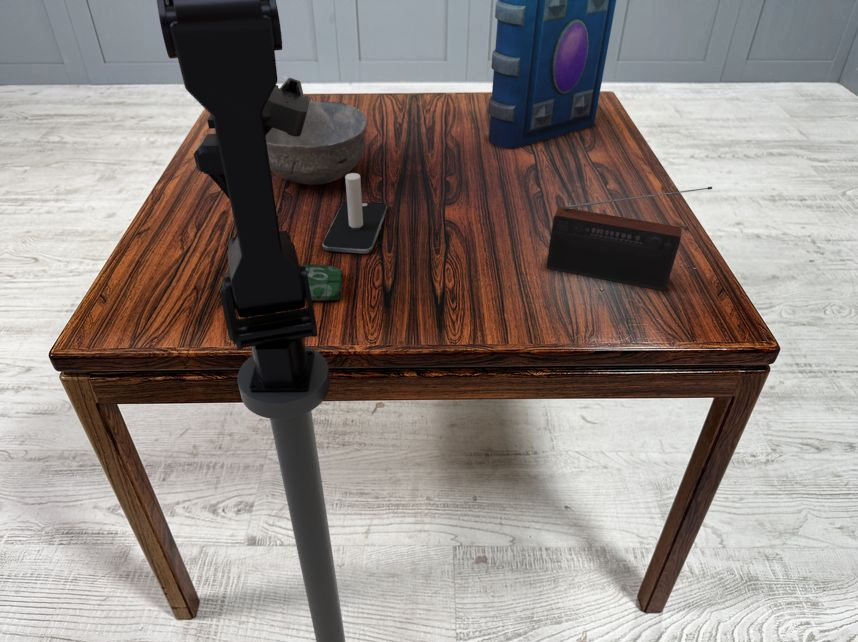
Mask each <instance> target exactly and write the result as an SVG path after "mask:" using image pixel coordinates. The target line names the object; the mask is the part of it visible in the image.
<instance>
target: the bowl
mask: <svg viewBox="0 0 858 642" xmlns="http://www.w3.org/2000/svg"><path fill="white" fill-rule="evenodd" d="M308 100H309V101H310V103H309V107H308V111H307V115H306V119H305V123H304V126H303V129H302V132H301V135H300V136H298V137H295V136H291V135H288V134H287V133H286V132H284V131H281V130H278V129H275V128H272V129H271V130H270V131H269V132H268V133H267V135H266V143H267V150H268V157H269V163H270V170H271V173H274V174H275V175H276V176H277V177H279V178H281V179H283V180H286V181H289V182H293V183H296V184H300V185H301V184H302V185H306V186H318V185H325V184H326V185H327V184H329V183H333V182H335V181H338V180H340V179H342V178H343V177H345V176H346V175H347V174H350V172H351V171H353V169H354V168H355V167H356V166H357V164H358V163H359V162H360V160H361V159H362V157H363V155H364V153H365V150H366V143H365V138H366V137H365V136H366V133H367V127H368V121H367V118H366V116H365V113H364V112H362V111H361V109H359V108H358V107H356V106H353V105H350V104H347V103H344V102H341V101H338V102H336V101H320V102H319V101H314V100H311V99H308Z"/></svg>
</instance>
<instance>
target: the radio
mask: <svg viewBox="0 0 858 642" xmlns="http://www.w3.org/2000/svg"><path fill="white" fill-rule="evenodd" d="M704 190H708V191H710V190H713V186H707V187H702V188H695V189H688V190H680V191H673V192H665V193H656V194H649V195H642V196H634V197H627V198H626V197H625V198H618V199H609V200H602V201H593V202H585V203H579V204H571V205H566V206H559V207H558V208H557V209H556V211H555V214H554V216H553V219H552V226H551V232H550V239H549V244H548V250H547V259H546V265H545V267H546V268H547V269H548V270H552V271H557V272H558V271H559V272H562V273H568V274H573V275H577V276H583V277H589V278H593V279H597V280H598V279H599V280H604V281H609V282H613V283H614V282H615V283H619V284H624V285H629V286H636V287H641V288H645V289H650V290H655V291H661V292H664V291H666V289H667V287H668V283H669V281H670V278H671V277H670V276H671V273H672V270H673V267H674V265H675V264H674V263H675V260H676V256H677V254H678V250H679V248H680V247H679V246H680V244H681V239H682V231H683V228H682V227H681V226H677V225H673V224H672V225H671V224H665V223H658V222H653V221H647V220H642V219H635V218H629V217H624V216H618V215H611V214H605V213H599V212H593V211H588V210H581V209H575V208H579V207H586V206H594V205H600V204H609V203H615V202H623V201H629V200H637V199H644V198H652V197H653V198H654V197H660V196H665V195H672V194H681V193H687V192H696V191H704Z"/></svg>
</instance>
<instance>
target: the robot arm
mask: <svg viewBox="0 0 858 642" xmlns="http://www.w3.org/2000/svg"><path fill="white" fill-rule="evenodd" d="M156 5H157V6H156V7H157V12H158V18H159V23H160V29H161V34H162V38H163V42H164V46H165V50H166V53H167V57H168V58H169V59H170V60H172V59H177V60H178V61H177V62H178V64H179V69H180V73H181V76H182V77H181V78H182V81H183V85H184V88H185V90H186V91H187V92H188V93H189V94H190V95H191V97H193V99H194V100H195V101H197V103H198V104H200V106H201V107H202V108H203V109H205V111H206V112H208V113H209V116H208V117H207V120H206V121H207V127H208V129H211V130H213V129H214V131H215V133H207V134H206V135H205V136H204V137H203V139H202V140H201V141H200V143H199V144H198V146H197V147H196V149H195V150H194V152H193V158H194V162H195V167H196V170H197V171H198V172H200V173H203V174H204V175H207V176H208V177H210V179H212V181H213V182H214V183H215V184H216V185H217V186H218V187H219V189H220V190H221V191H222V192H223V194H224V195H225V196H226V197H227V199H228V200H229V202H230V207H231V212H232V217H233V223H234V226H235V231H236V232H235V233H236V236H234V237H230V239H229V241H228V244H227V245H228V246H227V247H228V251H227V255H226V256H227V263H228V269H229V271H230V275H228V276H225V275H224V276H223V278H224V280H225V283H223V284H224V286H223V288H221V289H220V290H219V294H220V298H221V299H220V300H221V305H222V310H223V317H224V319H225V327H226V331H227V334H228V338H229V339H228V340H229V341H231V342H233V345H235V346H236V350H237V351H239V350H243V349H245V348H250V349H251V352H252V355H253V358H254V363H255V367H254V371H253V375H252V378H251V382H250V386H249V389H250V392H253V393H269V392H307V391H308V390H309V388H310V382H311V376H312V370H313V364H314V358H315V355H314V352H313V351H306V347H305V346H306V341H305V338H310V337H311V338H315V337H318V326H317V325H318V324H317V321H316V315H315V310H314V303H313V300H312V298H311V292H310V287H309V282H308V276H307V271H306V267H305V265H306V264H305V263H304V264H300V262H299V258H298V254H297V250H296V245H295V243H293V242H292V237H291V235H290V234H289V233H288V231H287V230H280V225H279V219H278V212H277V205H276V198H275V191H274V185H273V178H272V171H271V170H270V163H269V157H268V150H267V143H266V135H267V133H268V132H269V131H270V130H271V129H272V128H275V129H278V130H281V131H284V132H286V133H287V134H288V135H291V136H295V137H298V136H300V135H301V132H302V129H303V126H304V123H305V119H306V115H307V111H308V107H309V103H310V101H309V100H310V99H309V96H308V95H306V94H305V95H304V90H303V86H302V82H301V81H300V80H298V79H295V78H292V77H288V78H287V80H285V82H284V83H282V85H281V86H280V87H279V85H278V72H277V71H278V70H277V60H276V52H275V51H283V38H282V37H283V36H282V29H281V21H280V15H279V8H278V4H277V0H156ZM224 280H223V281H224ZM304 387H306V388H304Z"/></svg>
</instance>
